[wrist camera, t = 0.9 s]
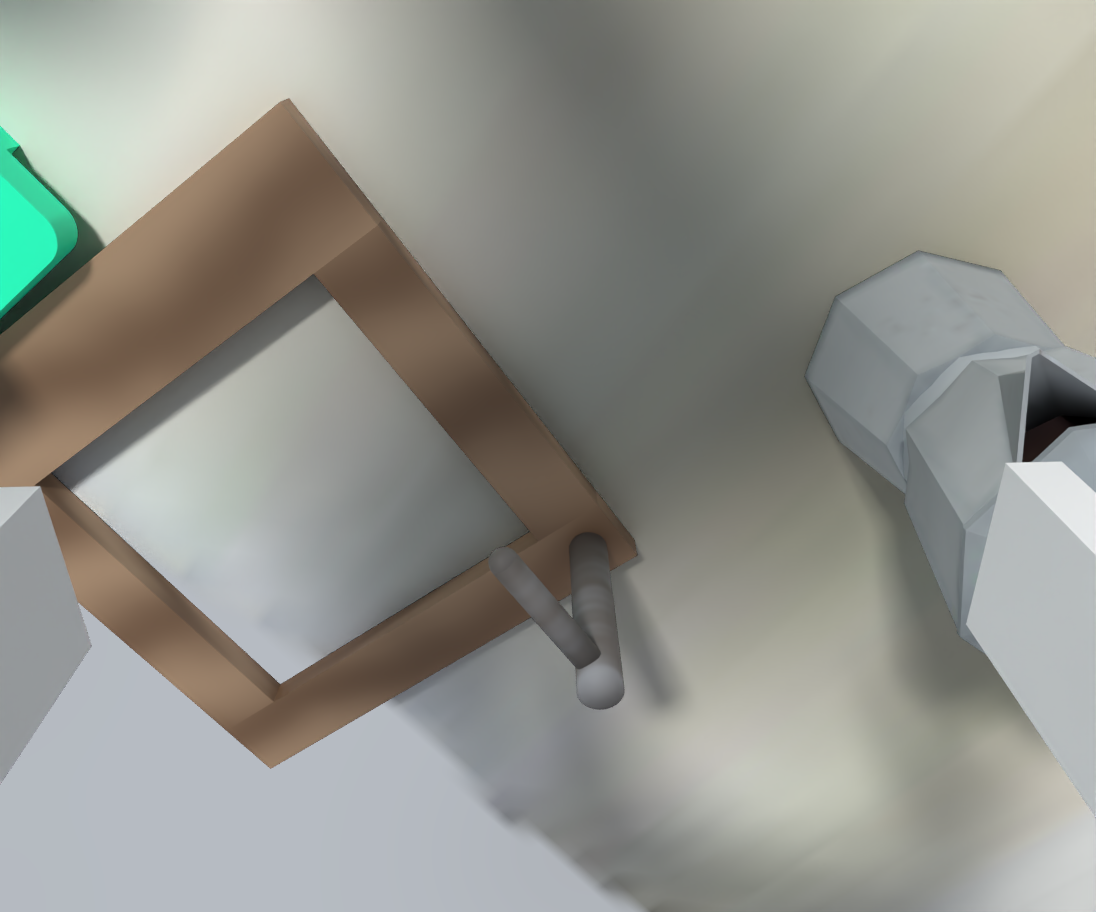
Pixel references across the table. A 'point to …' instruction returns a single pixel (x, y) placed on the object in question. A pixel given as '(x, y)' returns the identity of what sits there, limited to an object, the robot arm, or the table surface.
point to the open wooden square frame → (407, 345)
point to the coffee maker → (951, 400)
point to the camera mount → (28, 228)
